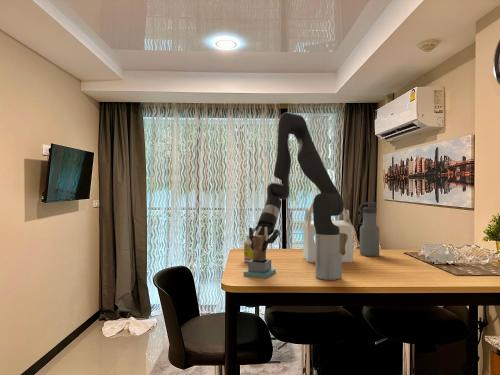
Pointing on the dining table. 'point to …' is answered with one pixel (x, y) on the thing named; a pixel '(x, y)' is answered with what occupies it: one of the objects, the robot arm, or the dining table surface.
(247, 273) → the plate
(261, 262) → the square socket frame
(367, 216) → the water bottle
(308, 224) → the gable box
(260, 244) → the rail post
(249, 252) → the supplement bottle
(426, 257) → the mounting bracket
